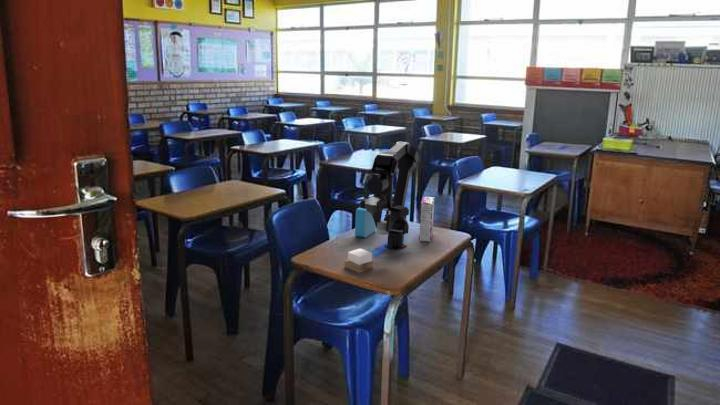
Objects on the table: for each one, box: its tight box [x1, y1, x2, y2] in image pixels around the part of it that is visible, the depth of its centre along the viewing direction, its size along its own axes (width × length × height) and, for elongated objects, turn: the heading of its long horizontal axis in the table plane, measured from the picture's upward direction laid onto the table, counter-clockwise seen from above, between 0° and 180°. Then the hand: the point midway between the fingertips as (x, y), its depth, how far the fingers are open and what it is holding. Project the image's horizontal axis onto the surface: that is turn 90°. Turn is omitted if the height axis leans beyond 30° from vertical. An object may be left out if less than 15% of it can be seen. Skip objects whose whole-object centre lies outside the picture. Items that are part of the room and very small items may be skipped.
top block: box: [347, 248, 373, 265], centre depth 188 cm, size 6×6×3 cm
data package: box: [354, 206, 377, 239], centre depth 224 cm, size 12×4×12 cm, turn 156°
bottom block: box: [344, 259, 374, 274], centre depth 188 cm, size 7×7×3 cm
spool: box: [376, 220, 389, 236], centre depth 194 cm, size 4×4×4 cm
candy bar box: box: [418, 196, 436, 243], centre depth 221 cm, size 11×5×16 cm, turn 168°
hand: (382, 230), depth 194 cm, fingers closed on spool, 4 cm apart
